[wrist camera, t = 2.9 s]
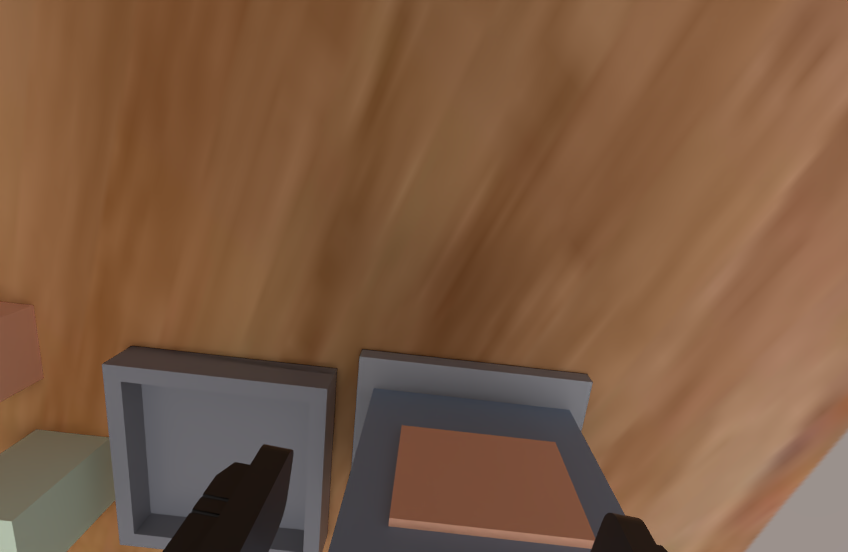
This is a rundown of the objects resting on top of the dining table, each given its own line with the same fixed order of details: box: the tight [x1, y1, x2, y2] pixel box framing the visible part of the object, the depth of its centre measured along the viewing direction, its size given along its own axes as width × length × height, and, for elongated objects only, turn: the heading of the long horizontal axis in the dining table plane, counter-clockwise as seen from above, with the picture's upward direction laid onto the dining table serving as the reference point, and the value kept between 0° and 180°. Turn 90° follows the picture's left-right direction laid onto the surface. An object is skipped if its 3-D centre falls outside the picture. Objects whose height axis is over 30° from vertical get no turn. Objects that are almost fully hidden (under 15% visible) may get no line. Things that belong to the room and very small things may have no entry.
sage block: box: [0, 429, 115, 552], centre depth 26 cm, size 5×5×7 cm
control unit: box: [328, 349, 625, 552], centre depth 22 cm, size 10×14×13 cm
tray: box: [102, 346, 337, 552], centre depth 28 cm, size 13×13×2 cm
